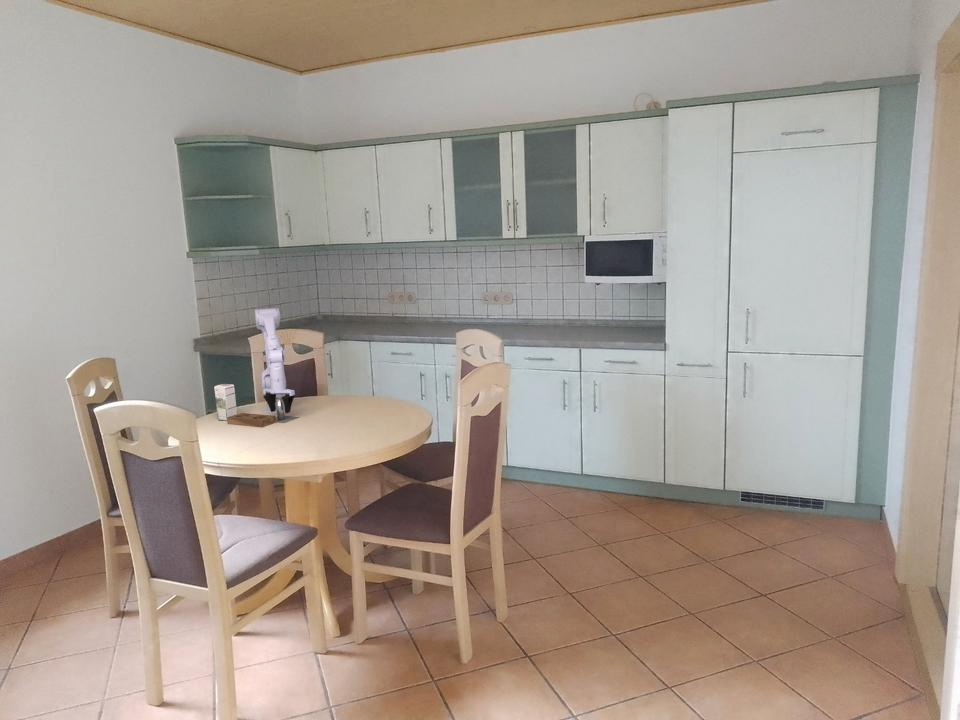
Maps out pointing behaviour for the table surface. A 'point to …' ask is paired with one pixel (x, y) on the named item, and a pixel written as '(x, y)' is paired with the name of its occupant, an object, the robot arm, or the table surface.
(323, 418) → the table surface
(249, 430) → the table surface
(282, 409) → the peg
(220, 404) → the syrup box
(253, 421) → the walnut hole block
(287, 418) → the rubber mat
